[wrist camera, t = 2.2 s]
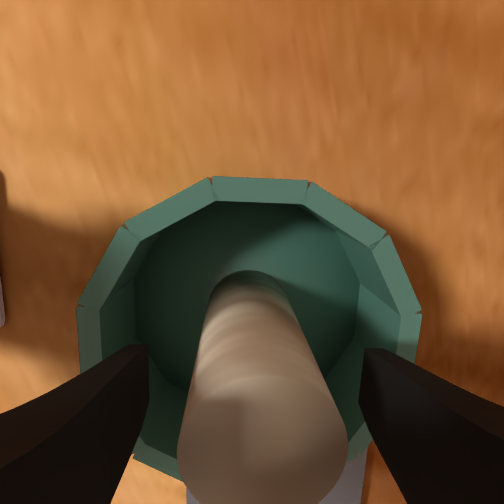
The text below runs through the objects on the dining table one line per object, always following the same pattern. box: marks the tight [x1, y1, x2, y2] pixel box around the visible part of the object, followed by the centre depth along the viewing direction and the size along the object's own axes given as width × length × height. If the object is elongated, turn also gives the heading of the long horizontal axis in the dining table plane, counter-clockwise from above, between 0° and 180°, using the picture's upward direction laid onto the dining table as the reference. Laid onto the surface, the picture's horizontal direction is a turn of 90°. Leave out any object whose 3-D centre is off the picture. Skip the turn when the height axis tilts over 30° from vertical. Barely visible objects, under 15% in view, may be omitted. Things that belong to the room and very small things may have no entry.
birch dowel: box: [177, 270, 348, 504], centre depth 12 cm, size 4×4×9 cm
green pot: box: [76, 176, 422, 482], centre depth 15 cm, size 13×13×5 cm
